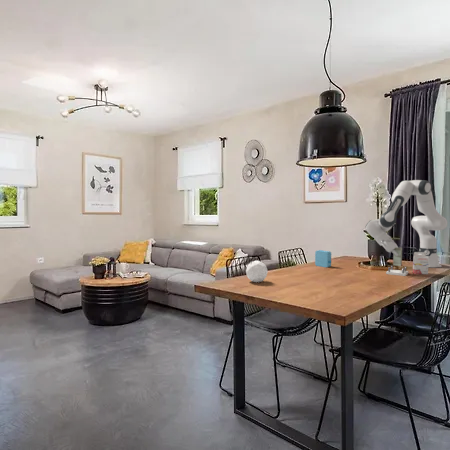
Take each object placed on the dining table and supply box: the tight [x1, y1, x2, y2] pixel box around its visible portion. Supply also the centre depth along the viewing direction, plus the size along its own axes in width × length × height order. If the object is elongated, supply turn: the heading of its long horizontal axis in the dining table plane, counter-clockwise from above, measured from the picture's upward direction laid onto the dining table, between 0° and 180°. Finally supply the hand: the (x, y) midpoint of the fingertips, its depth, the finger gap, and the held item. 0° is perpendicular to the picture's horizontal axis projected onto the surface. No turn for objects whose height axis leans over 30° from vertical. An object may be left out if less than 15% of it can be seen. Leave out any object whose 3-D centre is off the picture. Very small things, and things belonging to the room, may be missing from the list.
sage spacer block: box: [392, 247, 403, 267], centre depth 254 cm, size 4×4×12 cm
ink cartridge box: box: [412, 251, 429, 275], centre depth 255 cm, size 9×5×15 cm, turn 84°
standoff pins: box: [387, 265, 407, 273], centre depth 255 cm, size 10×10×3 cm
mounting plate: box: [385, 268, 409, 277], centre depth 255 cm, size 12×12×2 cm
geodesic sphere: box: [245, 259, 268, 283], centre depth 228 cm, size 14×14×14 cm
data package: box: [314, 249, 332, 268], centre depth 285 cm, size 12×4×12 cm, turn 37°
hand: (398, 254), depth 254 cm, fingers closed on sage spacer block, 4 cm apart
